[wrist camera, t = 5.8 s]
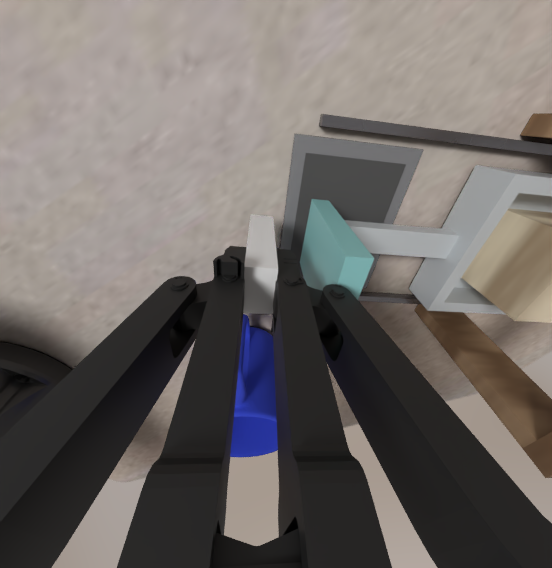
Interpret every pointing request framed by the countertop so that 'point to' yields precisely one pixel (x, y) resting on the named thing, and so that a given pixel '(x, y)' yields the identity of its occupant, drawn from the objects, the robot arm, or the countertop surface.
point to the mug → (255, 395)
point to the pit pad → (345, 184)
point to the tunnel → (500, 365)
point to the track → (429, 135)
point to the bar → (517, 266)
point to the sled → (423, 240)
